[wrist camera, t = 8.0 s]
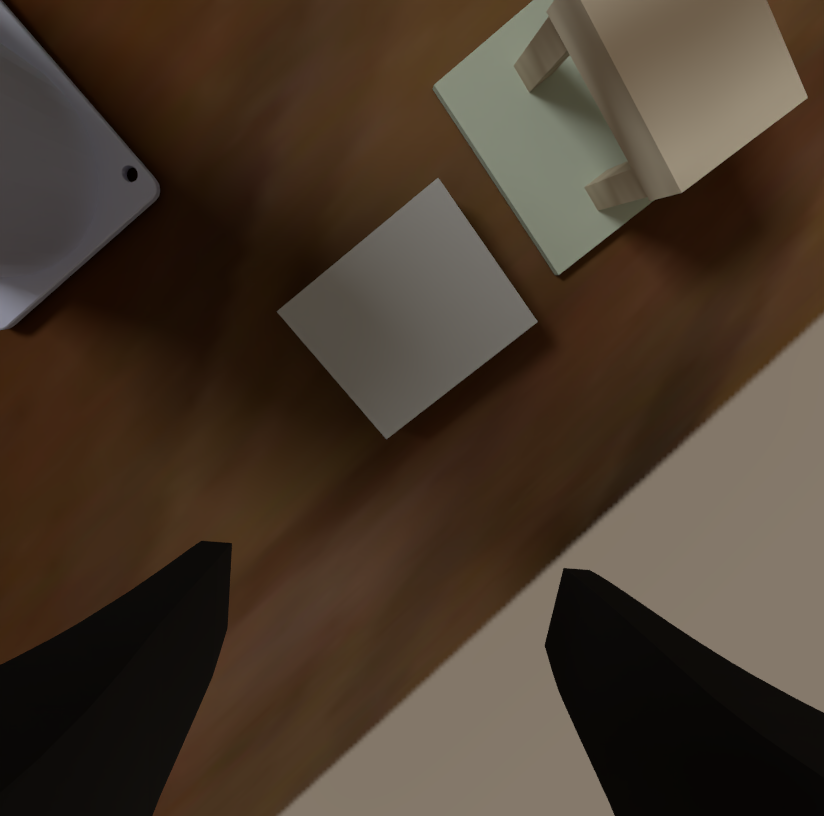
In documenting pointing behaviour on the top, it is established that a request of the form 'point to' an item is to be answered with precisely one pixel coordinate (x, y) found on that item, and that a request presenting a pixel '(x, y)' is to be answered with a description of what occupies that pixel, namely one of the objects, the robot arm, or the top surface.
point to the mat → (537, 141)
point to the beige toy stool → (669, 83)
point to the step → (409, 311)
